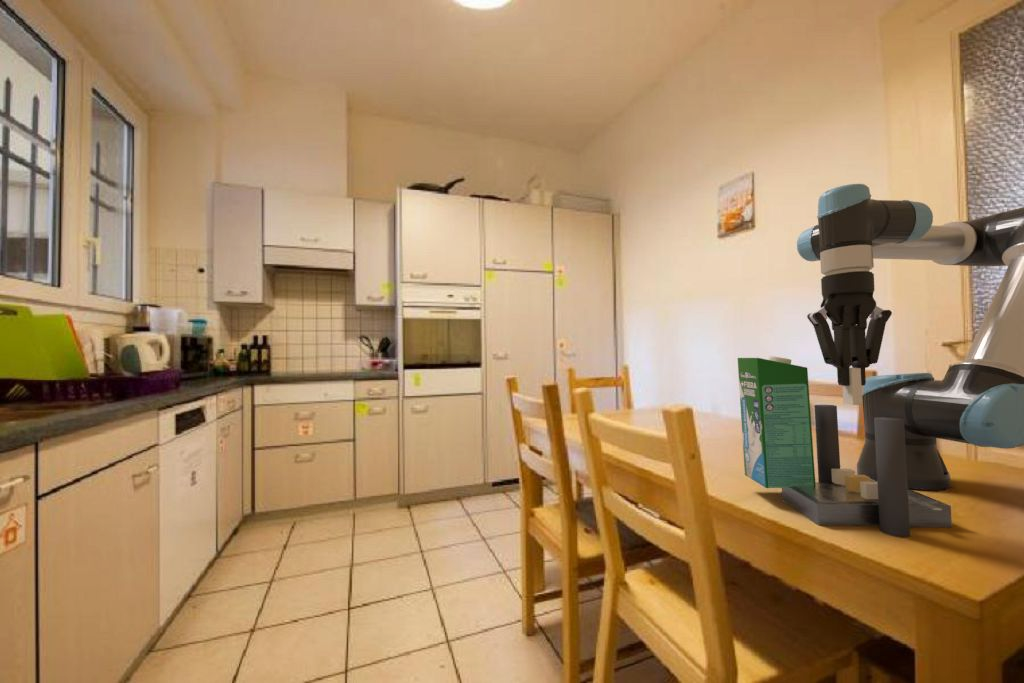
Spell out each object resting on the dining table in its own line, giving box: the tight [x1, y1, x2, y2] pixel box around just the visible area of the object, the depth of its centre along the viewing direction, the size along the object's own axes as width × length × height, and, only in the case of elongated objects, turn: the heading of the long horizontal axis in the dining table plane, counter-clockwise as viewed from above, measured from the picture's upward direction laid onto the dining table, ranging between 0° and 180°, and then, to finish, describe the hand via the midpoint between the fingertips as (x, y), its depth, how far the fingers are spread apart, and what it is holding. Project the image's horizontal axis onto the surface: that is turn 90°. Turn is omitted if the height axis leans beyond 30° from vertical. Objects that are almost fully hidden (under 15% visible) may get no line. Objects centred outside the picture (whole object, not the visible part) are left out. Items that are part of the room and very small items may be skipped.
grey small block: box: [831, 468, 856, 484], centre depth 80 cm, size 3×1×2 cm, turn 83°
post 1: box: [813, 404, 841, 482], centre depth 84 cm, size 4×4×18 cm
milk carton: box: [737, 355, 816, 489], centre depth 85 cm, size 9×9×25 cm
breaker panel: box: [781, 479, 953, 529], centre depth 76 cm, size 20×16×4 cm
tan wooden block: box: [845, 474, 870, 491], centre depth 76 cm, size 3×1×2 cm, turn 83°
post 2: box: [874, 417, 911, 538], centre depth 68 cm, size 4×4×18 cm
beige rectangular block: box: [860, 482, 878, 499], centre depth 72 cm, size 3×1×2 cm, turn 83°
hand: (852, 403), depth 76 cm, fingers closed
